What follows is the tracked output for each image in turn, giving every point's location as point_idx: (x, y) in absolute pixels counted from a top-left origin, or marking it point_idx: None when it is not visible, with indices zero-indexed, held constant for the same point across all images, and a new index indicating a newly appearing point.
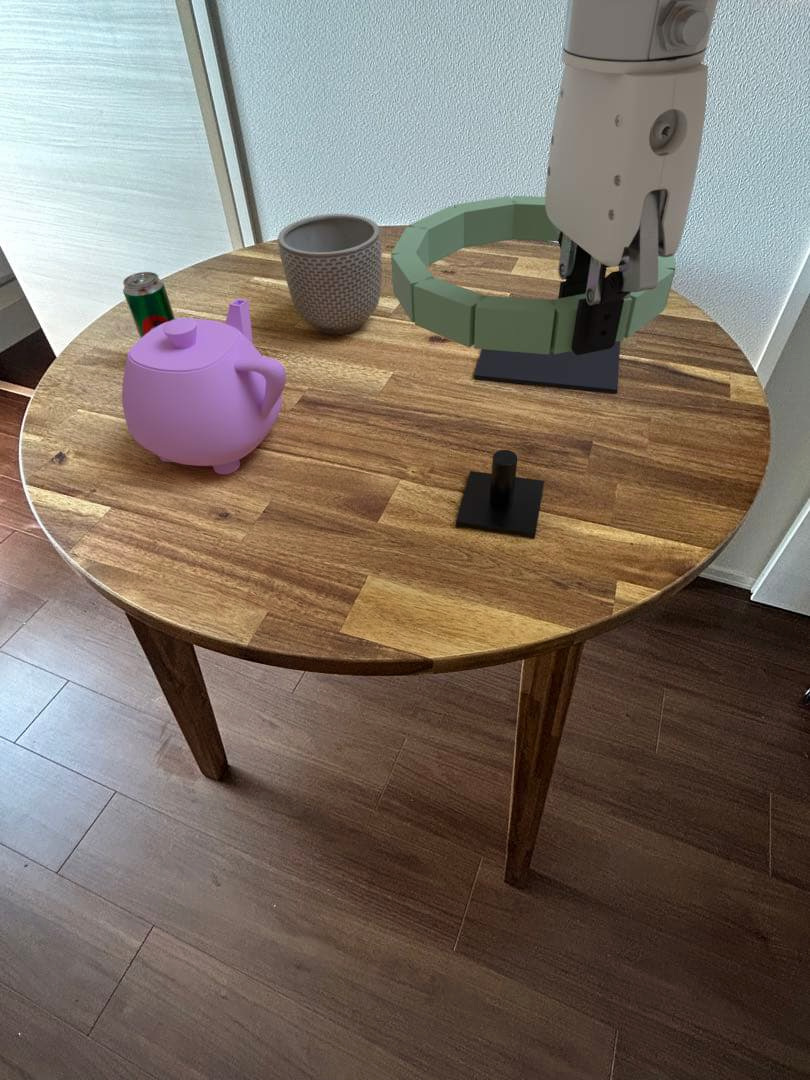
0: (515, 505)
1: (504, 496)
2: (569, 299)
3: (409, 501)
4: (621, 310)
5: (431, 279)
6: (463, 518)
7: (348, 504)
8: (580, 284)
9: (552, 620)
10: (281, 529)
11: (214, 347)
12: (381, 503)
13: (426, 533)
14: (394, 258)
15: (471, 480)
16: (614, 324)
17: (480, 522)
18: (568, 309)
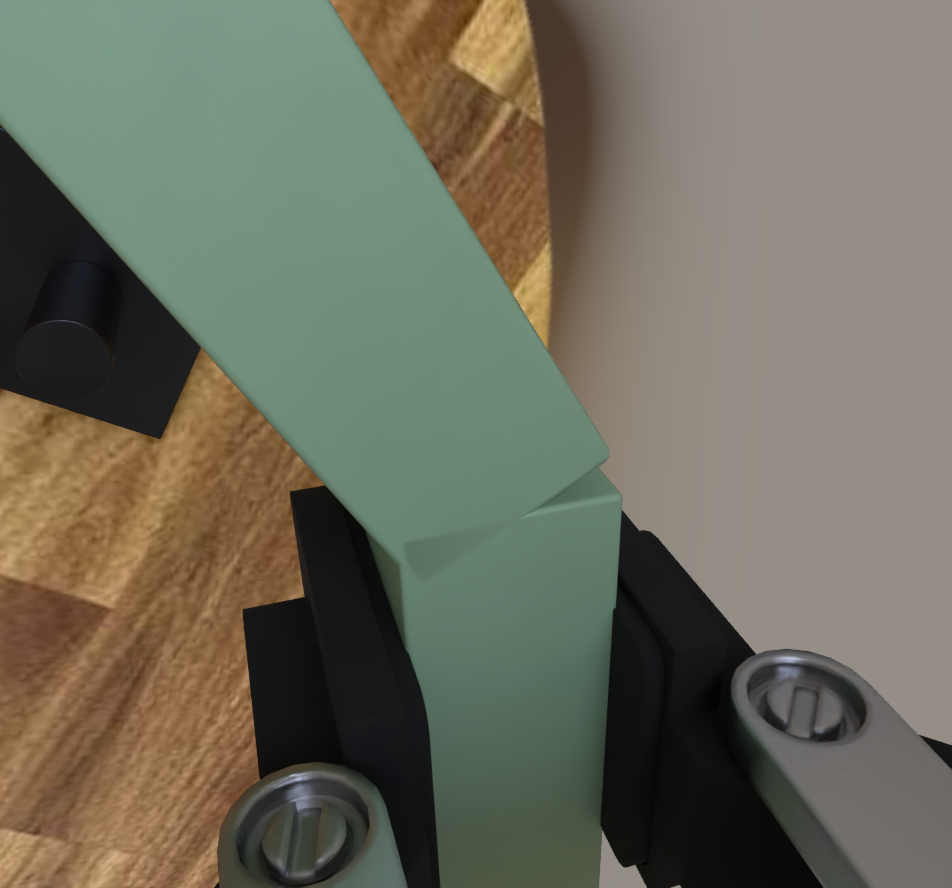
0: (114, 260)
1: (120, 316)
2: (470, 855)
3: (31, 532)
4: (663, 565)
5: None
6: (152, 418)
7: (27, 671)
8: (434, 862)
9: (516, 274)
10: (106, 793)
11: None
12: (32, 598)
13: (173, 501)
14: None
15: None
16: (692, 585)
17: (177, 377)
18: (585, 867)
